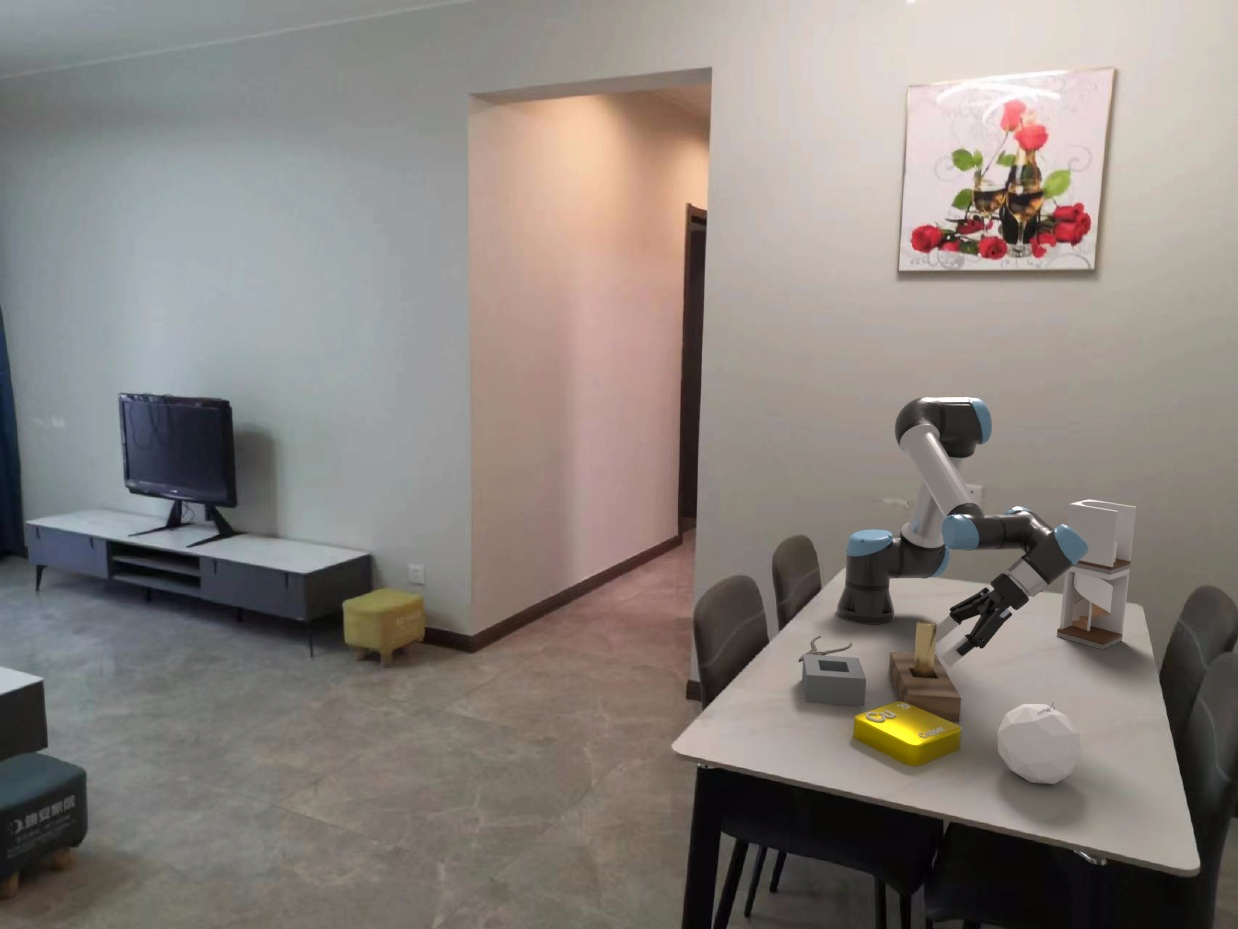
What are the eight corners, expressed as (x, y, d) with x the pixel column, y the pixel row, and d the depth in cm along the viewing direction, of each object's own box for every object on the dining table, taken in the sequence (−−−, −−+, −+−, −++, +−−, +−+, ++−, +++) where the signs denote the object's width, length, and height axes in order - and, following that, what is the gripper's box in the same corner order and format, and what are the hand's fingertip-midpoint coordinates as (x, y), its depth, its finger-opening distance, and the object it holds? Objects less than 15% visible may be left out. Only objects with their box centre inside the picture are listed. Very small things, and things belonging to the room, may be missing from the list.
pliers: (853, 640, 220) (839, 667, 202) (853, 643, 220) (839, 670, 202) (815, 634, 224) (797, 660, 206) (815, 637, 224) (797, 663, 206)
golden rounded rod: (910, 691, 190) (915, 620, 188) (929, 692, 190) (934, 621, 187) (913, 698, 186) (918, 626, 184) (933, 700, 186) (938, 627, 183)
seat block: (802, 679, 195) (803, 654, 194) (857, 683, 194) (858, 657, 193) (805, 702, 184) (806, 674, 183) (864, 706, 182) (866, 679, 181)
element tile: (913, 770, 156) (914, 745, 156) (848, 737, 169) (849, 713, 168) (964, 749, 165) (966, 725, 164) (899, 719, 177) (900, 696, 176)
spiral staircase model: (1056, 636, 226) (1069, 503, 221) (1076, 628, 233) (1089, 499, 227) (1102, 649, 217) (1117, 511, 212) (1121, 641, 224) (1136, 506, 218)
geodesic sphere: (1015, 716, 165) (1006, 673, 157) (1096, 739, 156) (1090, 695, 148) (991, 782, 158) (980, 740, 150) (1074, 810, 149) (1066, 767, 141)
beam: (888, 672, 200) (890, 651, 200) (934, 675, 199) (935, 654, 198) (907, 717, 177) (909, 694, 176) (959, 721, 175) (961, 698, 175)
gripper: (1051, 617, 169) (964, 686, 173) (1011, 581, 193) (936, 642, 197) (1024, 589, 168) (938, 659, 173) (988, 556, 193) (913, 618, 197)
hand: (937, 650), depth 185 cm, fingers open, 13 cm apart
